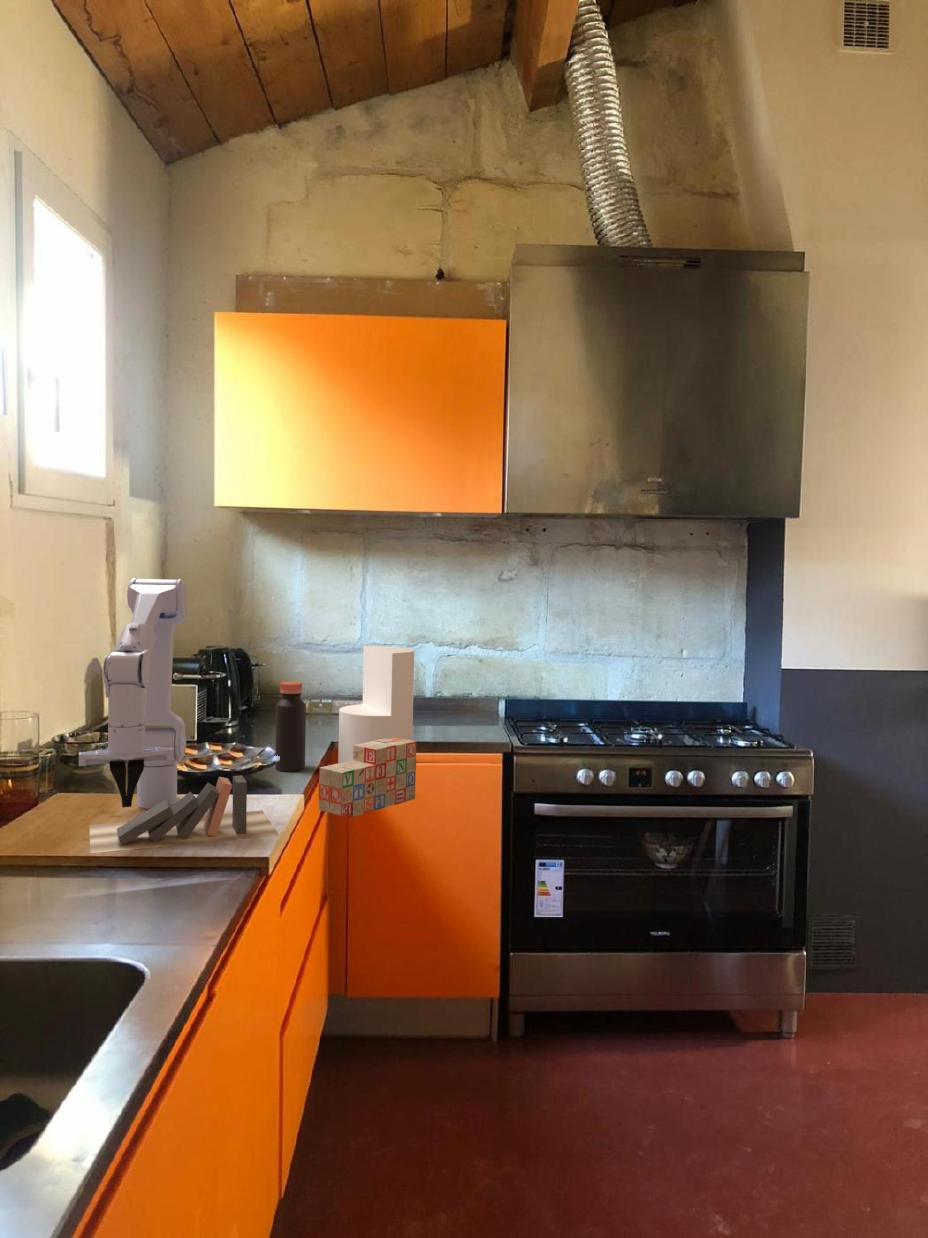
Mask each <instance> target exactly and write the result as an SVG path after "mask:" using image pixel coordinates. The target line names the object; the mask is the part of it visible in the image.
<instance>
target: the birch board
mask: <svg viewBox="0 0 928 1238" xmlns="http://www.w3.org/2000/svg"><path fill="white" fill-rule="evenodd" d="M232 816H233V812H225V813H224V814H223V818H222V821H221V824H220V827H219V831H218V834H217V837H216V836H211V835H207V833H206V831H205V829H204V824H205V820H206V817H207V814H205V815H204V816H203V817H202V819H201V820H200V822H199V823H198V824H197V826H196V827H195V828H194V830H193V831H192V832H191V834H190V835H189V837H188V838H187V839H185V838H183V837H182V836H180V835H178V832H177V829H176V826H174V827H173V828H172V829H171V830H170V831H168V832H167V833H166V834H165V835H164V836H162V837H161V838H160V839H159V840H158V841H156V842H154V840H153V839H152V838H151V837H150V836H149V833H148V831H146V832H145V833H143V834H141V835H140V836H138V837H136V838H135V839H133V840H131V841H130V842H128V843H126V844H125V845H122V843H121V842H120V840H119V838H118V834H117V828H119V827H121V826H123V825H124V824H126V823H128V822H129V821H125V822H123V821H122V822H112V823H111V822H110V823H99V824H89V854H91V855H92V854H100V853H111V852H121V851H130V850H131V851H132V850H134V851H135V850H142V849H152V848H153V849H155V848H162V847H172V846H183V845H185V846H186V845H194V844H195V845H196V844H203V843H213V842H224V841H234V840H244V839H254V838H263V837H274V836H275V837H276V836H280V834H279V832H278V830H277V829H276V828H275V826H274V825H273V824H272V822H271V820H270V819H269V818H268V817H267V814H265V812H264V810H262V809H261V810H249V811H247V820H246V834H238V835H237V834H236V832H235V830H234V828H233V827H232Z"/></svg>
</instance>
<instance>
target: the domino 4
mask: <svg viewBox="0 0 928 1238" xmlns="http://www.w3.org/2000/svg"><path fill="white" fill-rule="evenodd" d="M215 785H216V786H215V788H216V789H217V791H218V793H219V796H218V797H217V798H216V800H215V801H214V802H213V804H212V805H211V806H210V808H209V809H208V811H207V814H206V815H207V817H206V820H205V824H204V829H205V831H206V833H207V835H211V836H216V837H217V834H218V831H219V827H220V824H221V821H222V818H223V814H225V810H226V807H227V804H228V800H229V797H230V795H231V790H232V789H233V783H231V781H230V780H229V778H227V777H223V776H218V779H217V782H216V784H215Z"/></svg>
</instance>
